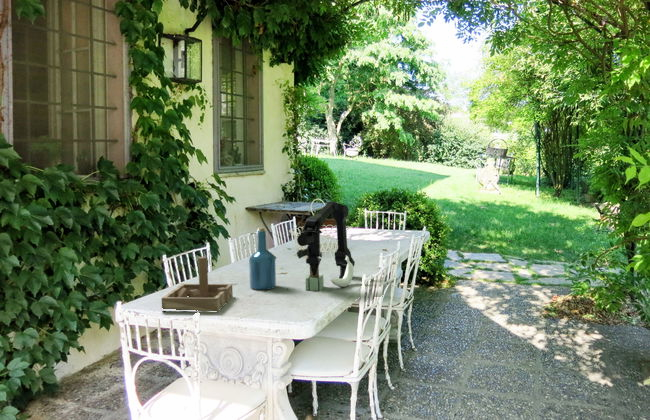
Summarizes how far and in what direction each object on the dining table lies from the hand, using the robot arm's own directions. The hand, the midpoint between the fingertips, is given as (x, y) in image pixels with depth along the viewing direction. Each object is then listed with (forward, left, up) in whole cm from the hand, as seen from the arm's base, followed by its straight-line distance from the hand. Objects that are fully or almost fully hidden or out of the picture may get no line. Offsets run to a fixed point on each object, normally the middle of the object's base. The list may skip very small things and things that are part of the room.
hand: (314, 274), depth 284 cm
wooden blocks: (+31, -49, -8) cm, 58 cm away
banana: (-5, +14, -7) cm, 16 cm away
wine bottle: (-2, -26, -7) cm, 27 cm away
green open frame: (0, 0, -7) cm, 7 cm away
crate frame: (+31, -49, -7) cm, 58 cm away
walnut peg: (0, 0, -2) cm, 2 cm away
